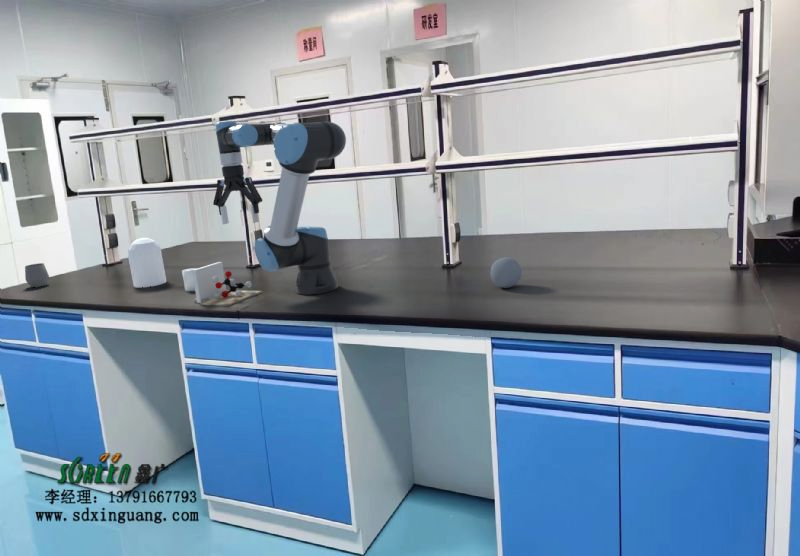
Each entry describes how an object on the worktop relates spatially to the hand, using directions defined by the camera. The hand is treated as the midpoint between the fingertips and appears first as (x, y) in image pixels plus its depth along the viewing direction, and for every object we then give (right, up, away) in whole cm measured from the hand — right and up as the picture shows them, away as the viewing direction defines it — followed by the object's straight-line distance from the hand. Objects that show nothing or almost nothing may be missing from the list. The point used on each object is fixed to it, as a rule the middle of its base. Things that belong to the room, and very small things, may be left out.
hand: (240, 223), depth 228 cm
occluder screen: (-10, -28, -2) cm, 29 cm away
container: (-48, -23, +36) cm, 64 cm away
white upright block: (-23, -25, +16) cm, 38 cm away
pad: (-2, -28, -6) cm, 28 cm away
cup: (-107, -24, +54) cm, 122 cm away
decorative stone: (+94, -24, -27) cm, 101 cm away
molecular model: (-2, -27, -6) cm, 28 cm away
